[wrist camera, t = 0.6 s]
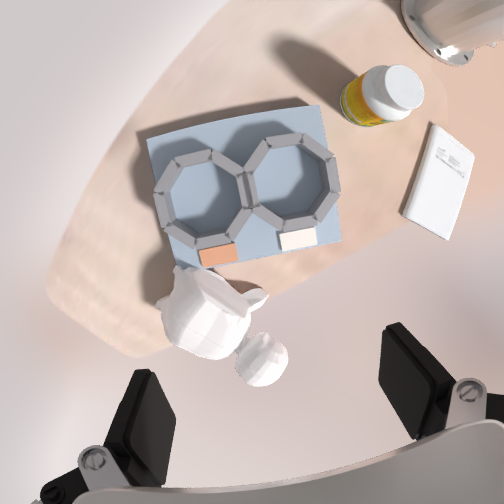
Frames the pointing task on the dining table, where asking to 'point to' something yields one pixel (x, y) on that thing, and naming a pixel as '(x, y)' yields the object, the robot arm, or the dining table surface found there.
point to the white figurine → (220, 324)
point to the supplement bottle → (381, 95)
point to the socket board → (246, 187)
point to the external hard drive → (439, 183)
